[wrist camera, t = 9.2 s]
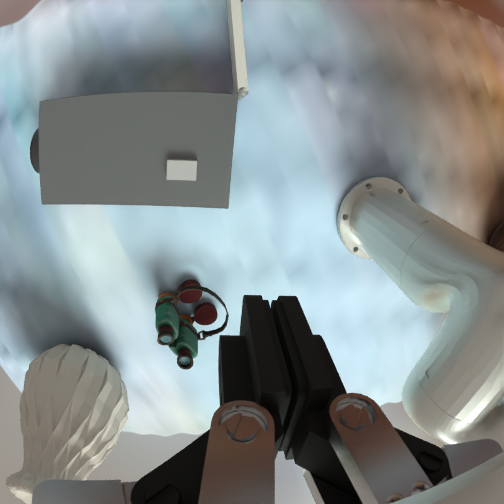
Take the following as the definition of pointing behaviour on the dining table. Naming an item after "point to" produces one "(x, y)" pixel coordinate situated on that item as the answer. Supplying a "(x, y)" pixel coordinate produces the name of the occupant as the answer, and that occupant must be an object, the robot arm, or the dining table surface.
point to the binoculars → (185, 321)
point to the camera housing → (136, 149)
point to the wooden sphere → (498, 238)
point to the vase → (68, 416)
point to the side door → (237, 48)
